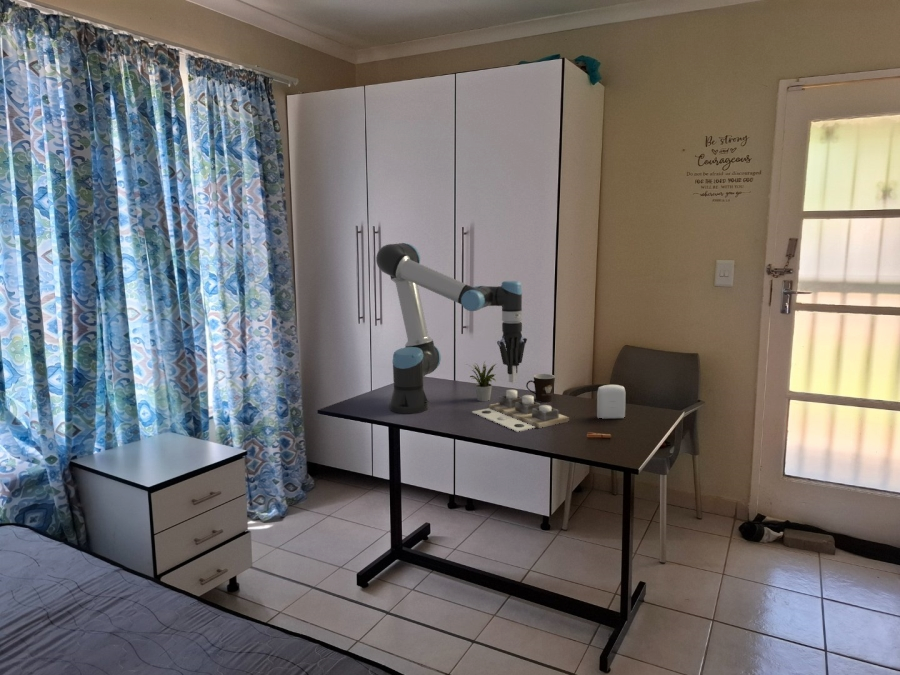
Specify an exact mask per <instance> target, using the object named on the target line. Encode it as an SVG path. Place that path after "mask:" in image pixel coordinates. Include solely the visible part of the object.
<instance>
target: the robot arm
mask: <svg viewBox="0 0 900 675" xmlns="http://www.w3.org/2000/svg"><path fill="white" fill-rule="evenodd" d="M375 258H376V259H375V261H376V265H377V267H378V269H379V270H380V272H382V273H384V274H386V275H388V276H390V280H391V281H393V282H394V284H395V286H396V291H397V296H398V300H399V304H400V305H399V306H400V310H401V314H402V318H403V323H404V324H403V325H404V328H405V333H406V338H407V341H406V344H405V346H404V347H403V348H399V349H397V350H395V351H394V352H393V354H392V372H393V373H392V376H393V378H392V379H393V392H392V395H391V397H390V402H389V410H390V411H391V410H392V411H391V412H393V411H394V413H397V414H416V413H417V412H418V413H421V412H425V411H427V410H428V409H429V401H428V398H427V395H426V393H425V392H426V391H425V390H424V389H425V388H424V377H425V376H427V375H429V374H432V373H433V372H434V371H435V370H436V369H438V367H439V366H440V364H441V360H442V359H441V357H442V356H441V352H440V350H439V348H438V347H437V346H436V345H435V343H434V339H433V338H431V337H430V336H429V334H428V329H427V323H426V318H425V315H424V314H425V313H424V309H423V305H422V304H423V303H422V299H421V294H420V290H419V289H420V288H419V287H422V288H424V289H426V290H428V291H431V292H432V293H435V294H437V295H439V296H441V297H444V298H446V299H449V300H451V301H453V302H456V303H458V304H460V305H461V306H463V308H464V309H465V310H466V311H469V312H475V311H476V312H477V311H479V310H481V309H484V308H486V307H501V321H502V323H501V324H502V325H501V328H502V330H501V331H502V337H501V339H500V340H497V342H496V343H497V345H498V347H499V351H500V355H501V357H500V358H501V360H502V361H501V362H502V364H503V365H506V366H507V368H506V370H507V371H506V372H507V375H508V382H509V383H512V384H515V383H517V374H518V367H519V366H520V364H522V363H523V358H524V352H525V346H526V343H527V341H528V338H525V337H524V336H523V335H522V332H523V323H522V321H523V318H522V317H523V309H522V308H523V307H522V306H523V305H522V303H523V302H522V301H523V300H522V299H523V291H522V282H520V281H519V280H505V281H502V282H501V285H500V286H498V285H497V286H485V285H480V286H479V285H477V286H471V285H468V284H467V283H464V282H462V281H460V280H457V279H455V278H453V277H450V276H448V275H446V274H444V273H442V272H439V271H437V270H435V269H432V268H430V267H428V266H427V265H426V266H425V265H423V264H421V255H420V252H419V251H418V249H417V248H416V247H415V246H414V245H412V244H410V243H404V242H401V243H400V242H399V243H388V244H386V245H383V246H382V247H380V248H379V250H378V251H377V254H376V257H375ZM418 413H417V414H418Z"/></svg>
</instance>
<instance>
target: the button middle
mask: <svg viewBox="0 0 900 675" xmlns="http://www.w3.org/2000/svg"><path fill="white" fill-rule="evenodd" d="M521 397H522V404H523V405H526V406H529V405H533V404H534V402H535V396H534V395H531V394H530V395H529V394H525V395H522V396H521Z"/></svg>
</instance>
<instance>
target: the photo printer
mask: <svg viewBox="0 0 900 675" xmlns="http://www.w3.org/2000/svg"><path fill="white" fill-rule="evenodd" d="M596 394H597V395H596V398H597V400H596V417H597V419H599V418H602V419H625V418H624V417H626V389H625V387H624V386H623V385H619V384H606V385H601V386H599V387H598V388H597V393H596Z"/></svg>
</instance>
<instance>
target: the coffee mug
mask: <svg viewBox="0 0 900 675" xmlns="http://www.w3.org/2000/svg"><path fill="white" fill-rule="evenodd" d="M555 379H556V376H555V374H554V375H553V374H551V373H537V374H534V375H533V380H529V381H527V382H526V384H525V385H526V386H525V387H526V389H527V390H528V391H529V392H530V393H532V394H534V395H535V400H537V401H536V402H538V401H541V402H540V403H550V402H552V401H553V393H554V389H555V388H554V387H555ZM530 383H533V384H534V391H532V390H531V389H530V388H529V386H528V385H529V384H530Z"/></svg>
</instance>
